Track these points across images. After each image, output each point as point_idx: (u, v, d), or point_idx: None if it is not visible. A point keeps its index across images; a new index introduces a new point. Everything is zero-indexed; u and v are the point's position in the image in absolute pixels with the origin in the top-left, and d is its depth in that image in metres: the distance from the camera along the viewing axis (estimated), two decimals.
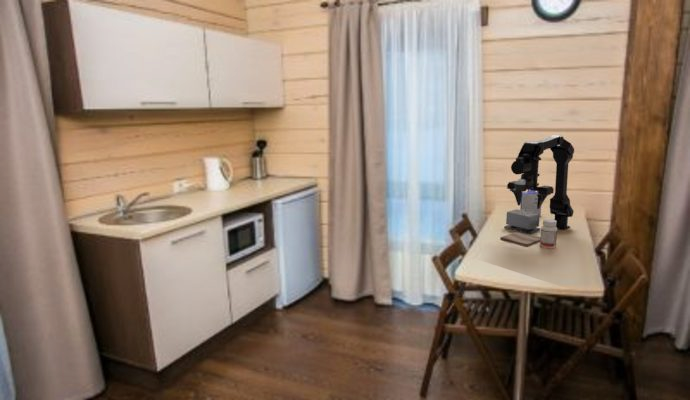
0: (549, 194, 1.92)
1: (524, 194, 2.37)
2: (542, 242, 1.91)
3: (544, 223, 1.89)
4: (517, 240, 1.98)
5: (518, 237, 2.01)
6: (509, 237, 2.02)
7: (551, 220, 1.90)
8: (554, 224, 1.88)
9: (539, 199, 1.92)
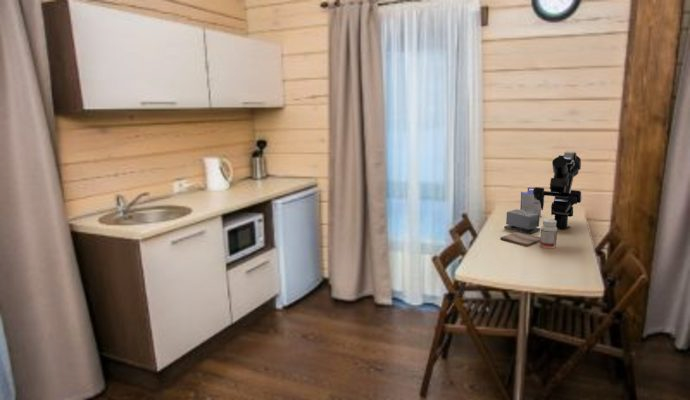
0: (577, 202, 1.95)
1: (524, 194, 2.37)
2: (542, 242, 1.91)
3: (544, 223, 1.89)
4: (517, 240, 1.98)
5: (518, 237, 2.01)
6: (509, 237, 2.02)
7: (551, 220, 1.90)
8: (554, 224, 1.88)
9: (569, 201, 1.94)
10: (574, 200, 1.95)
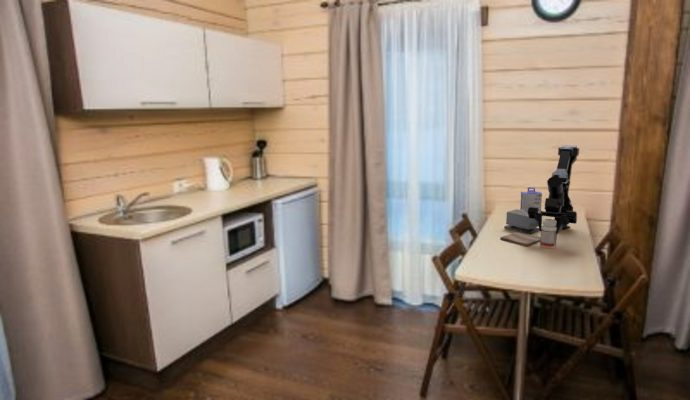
0: (569, 222, 1.90)
1: (524, 194, 2.37)
2: (542, 242, 1.91)
3: (544, 223, 1.89)
4: (517, 240, 1.98)
5: (518, 237, 2.01)
6: (509, 237, 2.02)
7: (551, 220, 1.90)
8: (554, 224, 1.88)
9: (561, 222, 1.88)
10: (566, 221, 1.89)
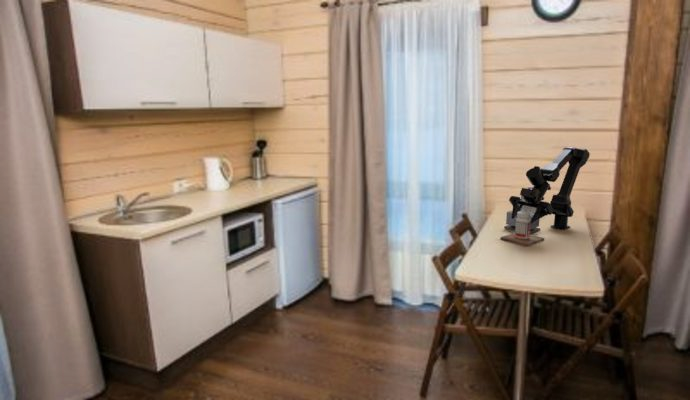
0: (547, 214, 1.95)
1: None
2: (515, 232, 2.01)
3: (517, 214, 2.00)
4: (517, 240, 1.98)
5: None
6: (509, 237, 2.02)
7: (525, 212, 1.99)
8: (525, 216, 1.97)
9: (536, 212, 1.95)
10: (543, 211, 1.95)
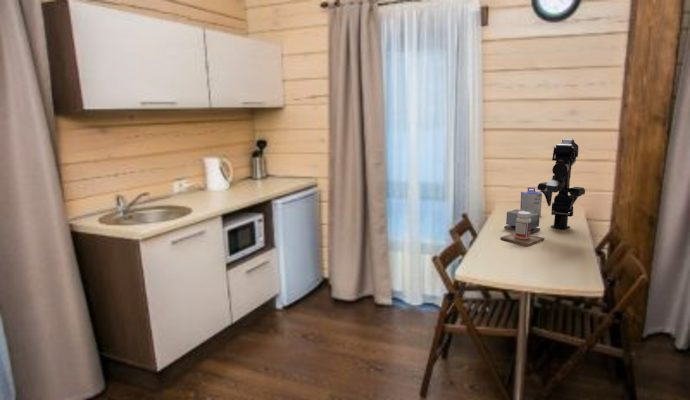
0: (580, 195, 1.96)
1: (524, 194, 2.37)
2: (515, 232, 2.01)
3: (518, 214, 1.99)
4: (517, 240, 1.98)
5: None
6: (509, 237, 2.02)
7: (526, 212, 1.99)
8: (526, 216, 1.97)
9: (570, 200, 1.96)
10: None
